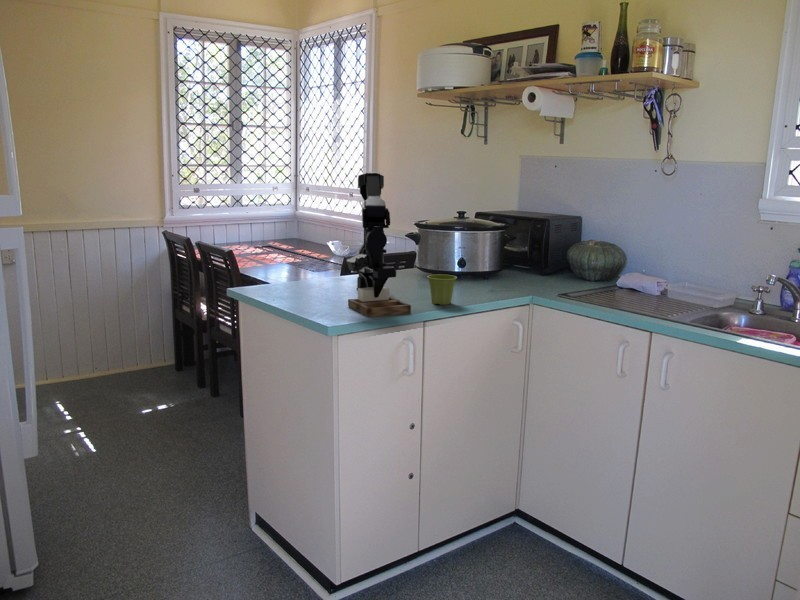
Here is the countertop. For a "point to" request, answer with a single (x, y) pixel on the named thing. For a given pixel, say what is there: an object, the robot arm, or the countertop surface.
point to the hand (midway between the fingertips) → (373, 296)
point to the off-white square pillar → (372, 294)
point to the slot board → (380, 307)
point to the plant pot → (441, 288)
